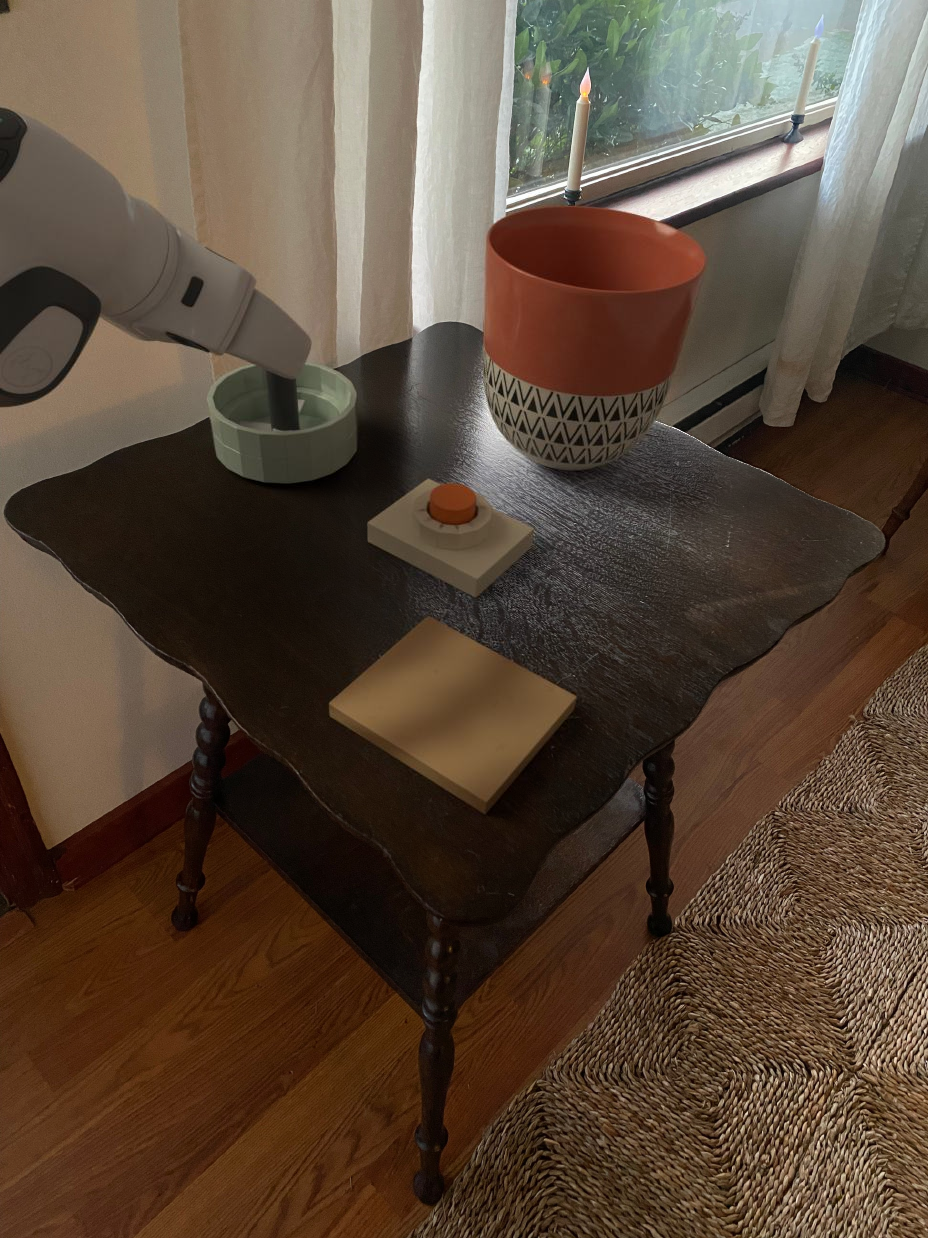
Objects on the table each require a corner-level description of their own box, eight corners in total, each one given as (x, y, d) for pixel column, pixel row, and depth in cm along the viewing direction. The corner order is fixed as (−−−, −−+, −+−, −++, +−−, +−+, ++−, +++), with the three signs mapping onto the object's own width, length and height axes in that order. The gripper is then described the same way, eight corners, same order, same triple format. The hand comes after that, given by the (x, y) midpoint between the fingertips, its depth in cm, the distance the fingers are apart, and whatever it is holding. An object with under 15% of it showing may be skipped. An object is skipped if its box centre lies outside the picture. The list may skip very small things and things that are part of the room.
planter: (446, 413, 98) (458, 210, 83) (608, 395, 103) (646, 200, 88) (506, 519, 85) (532, 300, 70) (688, 493, 90) (749, 283, 75)
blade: (226, 463, 87) (210, 349, 79) (252, 413, 94) (240, 303, 86) (323, 474, 87) (317, 360, 79) (342, 422, 94) (338, 313, 86)
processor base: (367, 541, 81) (366, 505, 78) (427, 496, 87) (428, 461, 84) (475, 598, 76) (479, 562, 74) (532, 547, 82) (537, 511, 79)
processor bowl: (185, 451, 90) (175, 397, 85) (284, 397, 98) (280, 346, 94) (290, 506, 84) (285, 452, 80) (385, 443, 93) (385, 391, 89)
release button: (420, 514, 79) (420, 497, 77) (447, 493, 81) (448, 477, 80) (457, 532, 77) (458, 515, 76) (483, 510, 79) (485, 494, 78)
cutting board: (329, 716, 66) (328, 703, 65) (427, 628, 73) (428, 614, 72) (485, 815, 61) (487, 802, 60) (574, 709, 68) (577, 696, 67)
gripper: (38, 277, 72) (154, 346, 84) (226, 356, 64) (322, 419, 77) (70, 204, 71) (182, 284, 84) (263, 274, 64) (354, 351, 77)
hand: (251, 349), depth 80 cm, fingers open, 8 cm apart
